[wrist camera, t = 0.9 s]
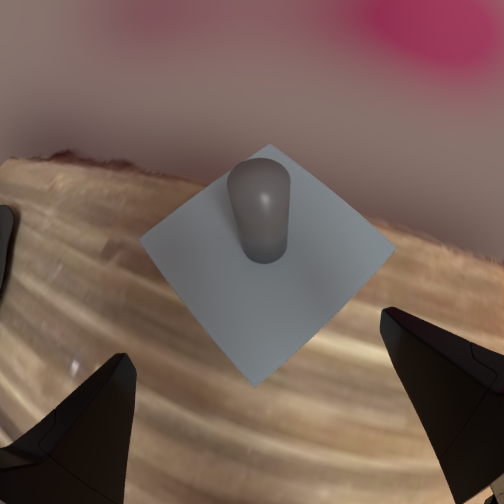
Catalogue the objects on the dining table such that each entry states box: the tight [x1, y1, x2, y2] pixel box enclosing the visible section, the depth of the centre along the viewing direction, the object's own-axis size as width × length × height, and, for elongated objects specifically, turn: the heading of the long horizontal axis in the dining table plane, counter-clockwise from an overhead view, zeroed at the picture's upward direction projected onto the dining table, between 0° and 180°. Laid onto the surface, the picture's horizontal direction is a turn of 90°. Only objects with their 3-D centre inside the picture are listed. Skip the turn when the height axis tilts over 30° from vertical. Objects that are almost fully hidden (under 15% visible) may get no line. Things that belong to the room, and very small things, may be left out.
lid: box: [138, 144, 397, 388], centre depth 18 cm, size 14×14×9 cm
